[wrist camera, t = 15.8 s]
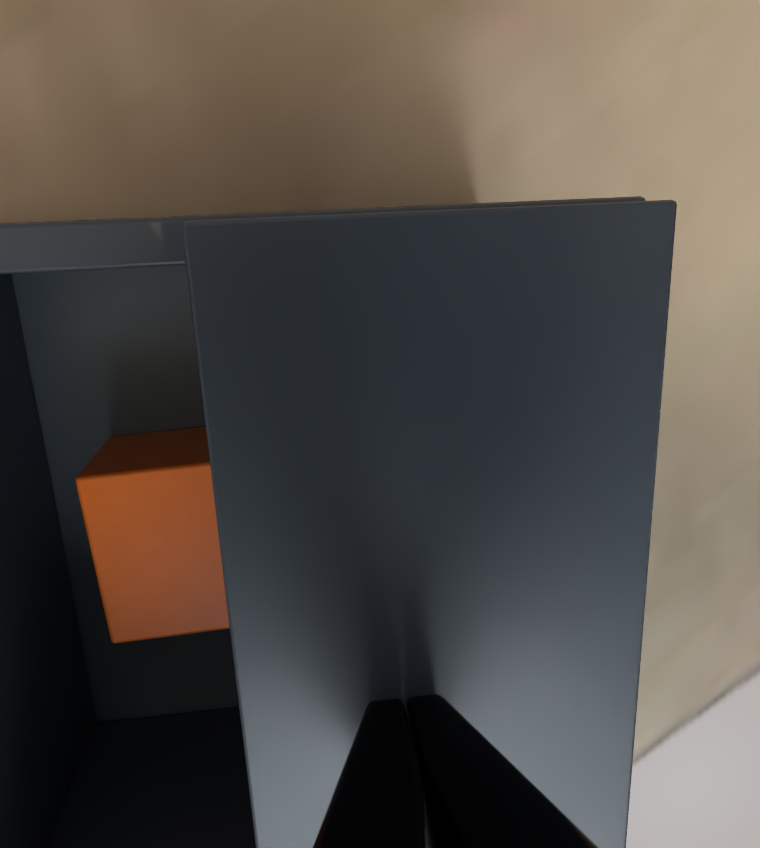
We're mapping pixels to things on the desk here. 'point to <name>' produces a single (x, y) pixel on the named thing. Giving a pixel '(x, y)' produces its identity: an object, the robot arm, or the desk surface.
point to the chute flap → (435, 483)
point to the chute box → (72, 559)
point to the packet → (155, 534)
